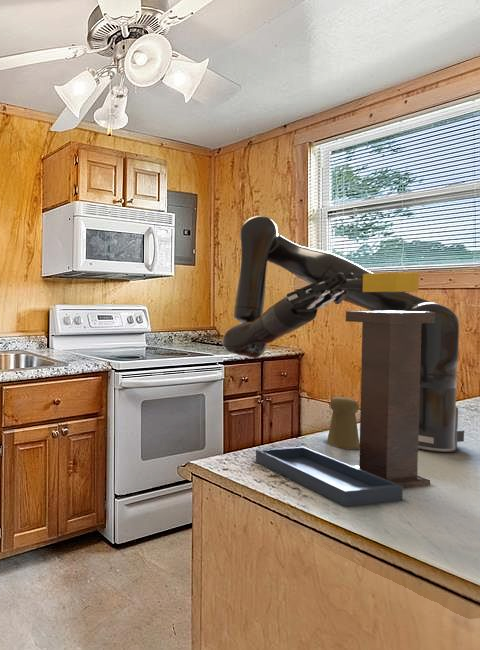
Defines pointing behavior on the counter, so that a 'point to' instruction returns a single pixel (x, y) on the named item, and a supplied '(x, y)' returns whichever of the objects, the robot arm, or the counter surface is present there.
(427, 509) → the counter surface
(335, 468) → the tray
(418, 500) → the counter surface
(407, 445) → the wooden pedestal stand
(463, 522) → the counter surface
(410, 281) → the sponge brush
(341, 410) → the cork
